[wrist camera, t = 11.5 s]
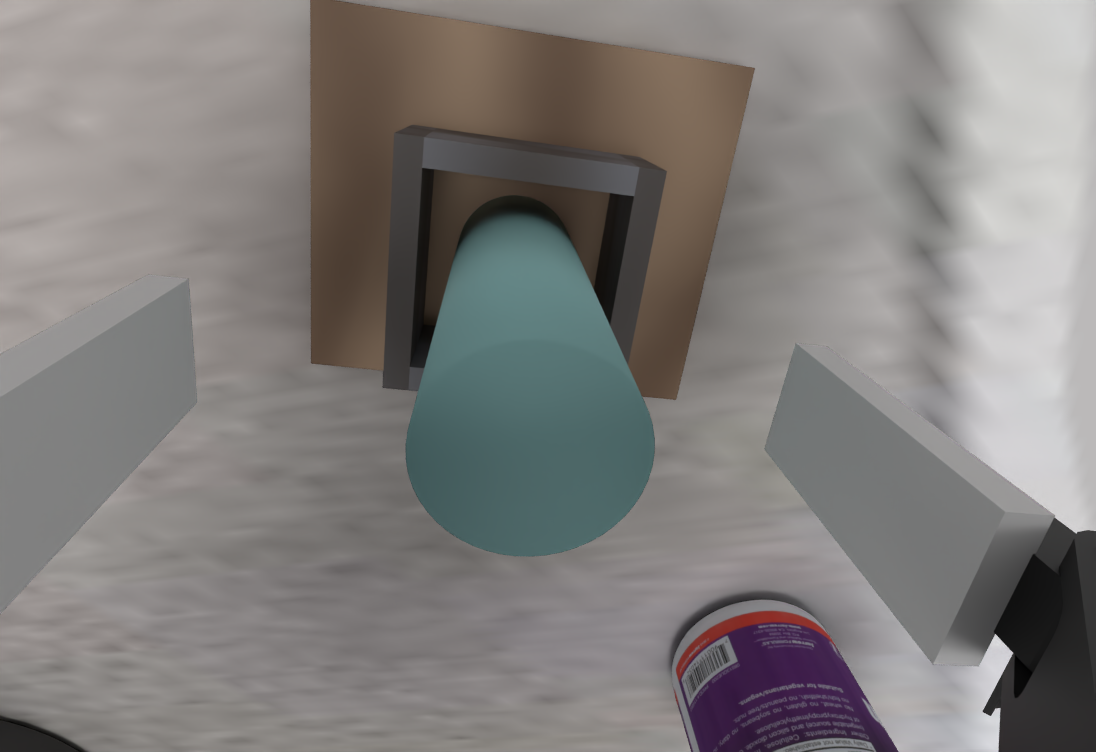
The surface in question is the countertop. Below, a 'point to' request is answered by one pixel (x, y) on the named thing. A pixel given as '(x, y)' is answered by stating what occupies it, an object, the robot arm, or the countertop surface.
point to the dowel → (525, 394)
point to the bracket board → (507, 176)
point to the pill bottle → (770, 685)
